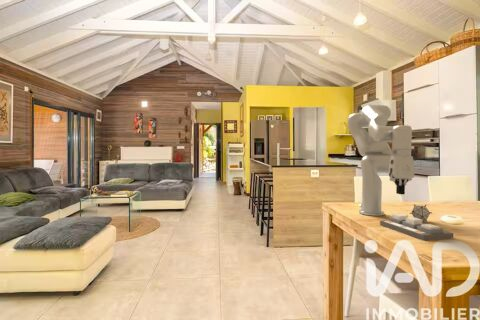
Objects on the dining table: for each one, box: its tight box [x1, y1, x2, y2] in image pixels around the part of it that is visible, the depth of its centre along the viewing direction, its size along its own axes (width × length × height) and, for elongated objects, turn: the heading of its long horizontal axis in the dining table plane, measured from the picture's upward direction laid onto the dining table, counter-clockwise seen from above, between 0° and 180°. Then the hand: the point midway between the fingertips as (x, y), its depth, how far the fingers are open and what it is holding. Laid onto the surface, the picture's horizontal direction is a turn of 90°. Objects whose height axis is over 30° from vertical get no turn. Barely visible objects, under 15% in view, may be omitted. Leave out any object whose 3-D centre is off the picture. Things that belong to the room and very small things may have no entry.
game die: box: [409, 203, 433, 223], centre depth 142 cm, size 9×8×10 cm
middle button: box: [406, 216, 424, 225], centre depth 125 cm, size 4×4×2 cm
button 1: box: [391, 213, 409, 220], centre depth 133 cm, size 4×4×2 cm
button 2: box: [421, 223, 440, 230], centre depth 117 cm, size 4×4×2 cm
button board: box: [379, 216, 454, 241], centre depth 125 cm, size 24×14×4 cm, turn 13°
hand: (400, 193), depth 132 cm, fingers closed
